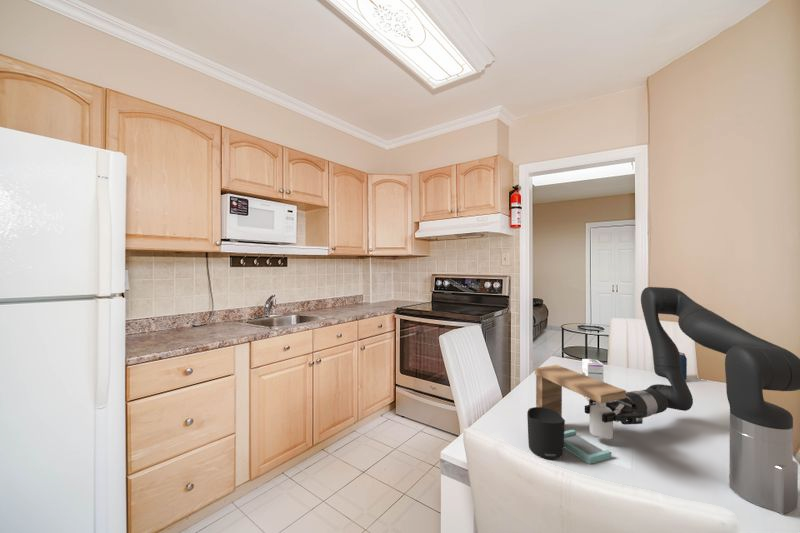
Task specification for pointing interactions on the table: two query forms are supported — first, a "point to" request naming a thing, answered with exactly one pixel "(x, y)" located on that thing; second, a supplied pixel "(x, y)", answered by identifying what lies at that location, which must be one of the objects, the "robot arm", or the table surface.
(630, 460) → the table surface
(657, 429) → the table surface
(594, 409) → the eye dropper bottle
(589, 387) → the shelf
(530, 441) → the pen holder
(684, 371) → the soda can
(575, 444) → the mint green tray
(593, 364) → the syrup box
